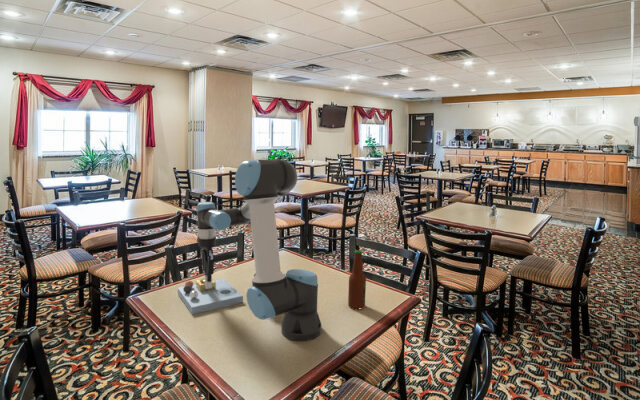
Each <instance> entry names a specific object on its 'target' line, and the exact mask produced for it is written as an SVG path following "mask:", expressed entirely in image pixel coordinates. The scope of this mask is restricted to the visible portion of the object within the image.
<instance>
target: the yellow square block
mask: <svg viewBox="0 0 640 400" xmlns="http://www.w3.org/2000/svg"><path fill="white" fill-rule="evenodd" d="M195 284H196V287H197V288H198V289H199V291H200V292H201V291H206V290H211V289H216V282H215V280H214V279H213V278H212V288H208V289H206V288H205V277H204V278H201V279H196V280H195Z"/></svg>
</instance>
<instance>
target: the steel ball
mask: <svg viewBox="0 0 640 400" xmlns="http://www.w3.org/2000/svg"><path fill="white" fill-rule="evenodd" d="M197 297H198V293H197V291H192V292H191V293H190V298H191V299H196V298H197Z"/></svg>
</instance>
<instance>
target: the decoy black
mask: <svg viewBox="0 0 640 400" xmlns="http://www.w3.org/2000/svg"><path fill="white" fill-rule="evenodd" d="M184 286H185V285H184ZM184 286H183V287H184ZM183 290H184V292H185V293H189V292H191V290H192V287H191V286H190V285H186V286H185V287H184V289H183Z"/></svg>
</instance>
